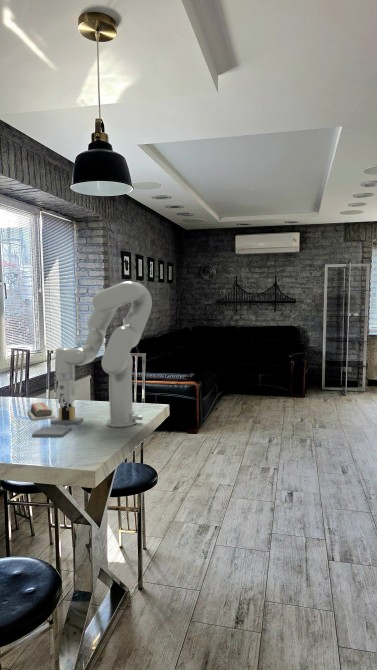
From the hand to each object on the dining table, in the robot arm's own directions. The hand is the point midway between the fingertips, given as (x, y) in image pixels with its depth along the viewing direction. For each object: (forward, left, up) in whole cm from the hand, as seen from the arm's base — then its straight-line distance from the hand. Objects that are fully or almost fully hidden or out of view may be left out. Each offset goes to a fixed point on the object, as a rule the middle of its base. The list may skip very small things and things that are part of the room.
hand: (67, 418), depth 189 cm
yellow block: (0, 0, -2) cm, 2 cm away
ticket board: (0, +16, -2) cm, 17 cm away
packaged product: (+17, -13, -3) cm, 21 cm away
